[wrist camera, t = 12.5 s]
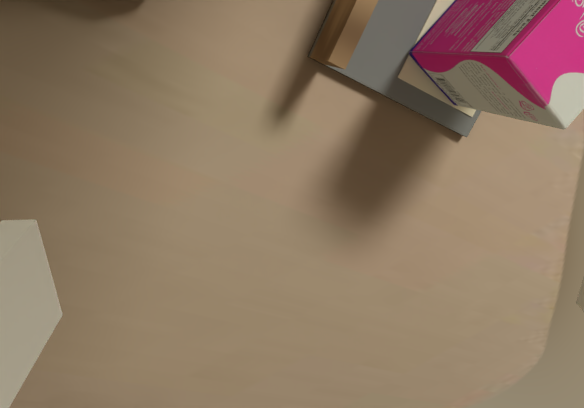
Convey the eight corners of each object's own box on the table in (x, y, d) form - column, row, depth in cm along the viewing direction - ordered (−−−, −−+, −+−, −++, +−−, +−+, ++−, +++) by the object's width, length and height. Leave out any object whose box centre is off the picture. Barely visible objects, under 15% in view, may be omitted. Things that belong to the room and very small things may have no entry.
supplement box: (509, 46, 37) (642, 53, 27) (453, 106, 38) (561, 137, 27) (463, -14, 35) (589, -31, 25) (404, 52, 36) (502, 62, 25)
